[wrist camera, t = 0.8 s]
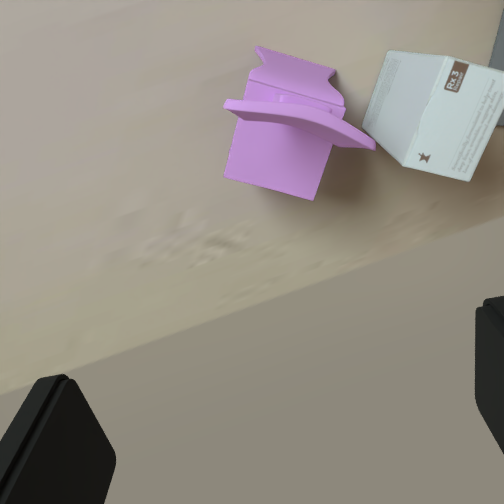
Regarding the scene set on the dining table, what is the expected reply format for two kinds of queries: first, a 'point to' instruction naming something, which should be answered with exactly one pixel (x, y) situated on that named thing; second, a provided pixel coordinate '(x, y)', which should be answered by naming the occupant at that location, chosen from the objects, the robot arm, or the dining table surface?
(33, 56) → the dining table surface
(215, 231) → the dining table surface
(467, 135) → the skincare box
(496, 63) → the mat
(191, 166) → the dining table surface
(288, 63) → the purple flanged fixture
